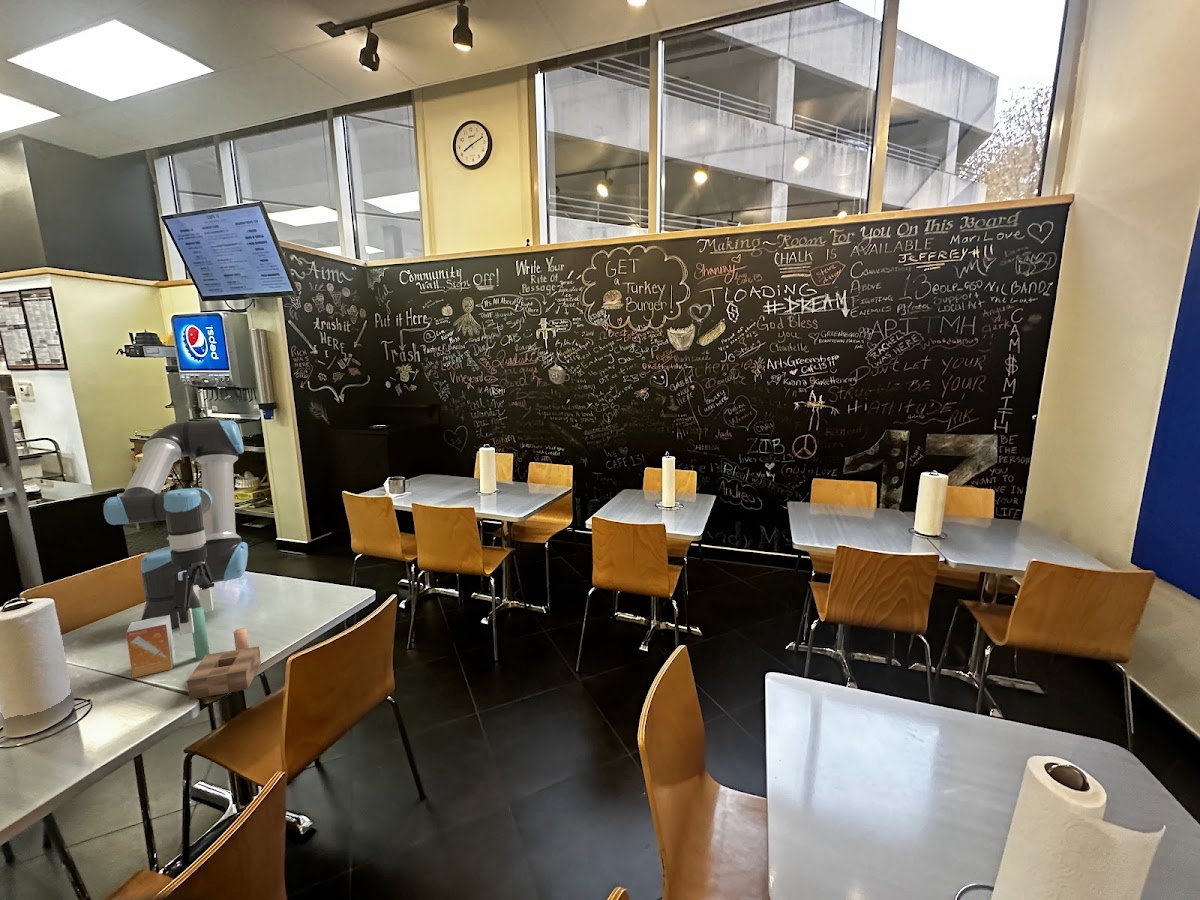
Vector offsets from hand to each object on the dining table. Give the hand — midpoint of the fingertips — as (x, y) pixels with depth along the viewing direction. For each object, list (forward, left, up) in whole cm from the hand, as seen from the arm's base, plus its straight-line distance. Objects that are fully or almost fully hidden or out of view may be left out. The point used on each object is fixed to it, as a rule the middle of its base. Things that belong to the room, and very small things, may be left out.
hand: (197, 621), depth 139 cm
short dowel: (+2, +10, -11) cm, 15 cm away
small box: (+2, -10, -11) cm, 15 cm away
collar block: (+15, +10, -11) cm, 21 cm away
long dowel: (0, 0, -11) cm, 11 cm away
